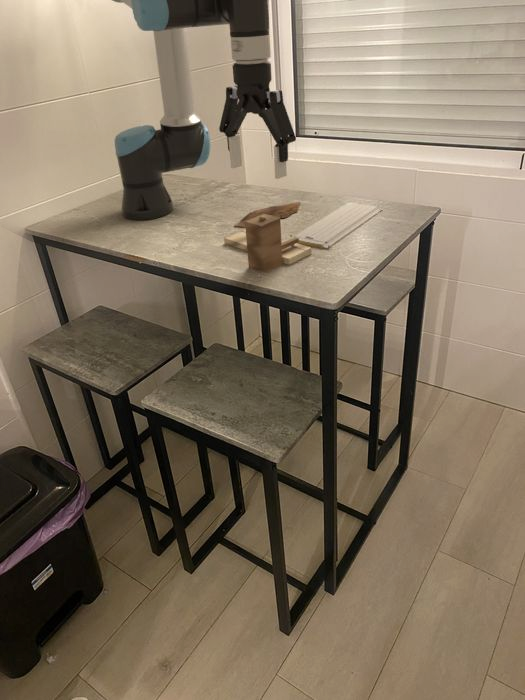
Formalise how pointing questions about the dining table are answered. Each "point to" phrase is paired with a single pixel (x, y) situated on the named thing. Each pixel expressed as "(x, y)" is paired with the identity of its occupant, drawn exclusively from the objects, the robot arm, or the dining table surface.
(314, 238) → the baseboard molding
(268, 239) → the block
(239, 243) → the board
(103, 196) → the dining table surface
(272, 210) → the wooden fragment
